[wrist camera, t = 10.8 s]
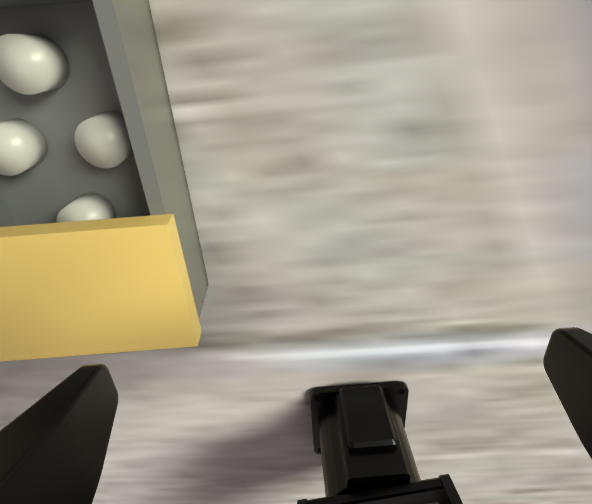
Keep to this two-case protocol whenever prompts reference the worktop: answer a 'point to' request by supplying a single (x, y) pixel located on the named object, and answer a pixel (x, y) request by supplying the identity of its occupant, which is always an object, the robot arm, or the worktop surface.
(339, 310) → the worktop surface
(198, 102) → the worktop surface
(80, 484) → the robot arm
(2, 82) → the parts tub
